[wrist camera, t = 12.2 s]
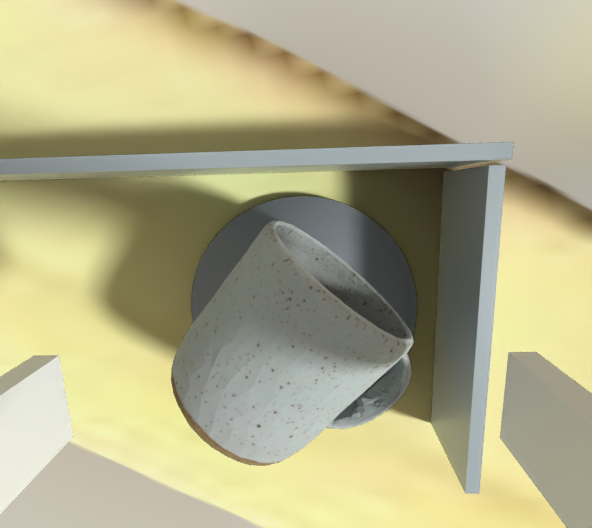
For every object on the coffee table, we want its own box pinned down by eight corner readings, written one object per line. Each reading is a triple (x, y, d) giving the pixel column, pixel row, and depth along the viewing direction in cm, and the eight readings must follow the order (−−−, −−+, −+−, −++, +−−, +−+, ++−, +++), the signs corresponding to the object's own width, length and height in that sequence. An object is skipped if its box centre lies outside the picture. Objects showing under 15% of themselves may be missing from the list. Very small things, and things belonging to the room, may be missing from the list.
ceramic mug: (190, 330, 20) (118, 415, 13) (280, 210, 19) (259, 226, 11) (342, 438, 21) (359, 576, 14) (439, 332, 20) (518, 424, 12)
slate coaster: (203, 405, 22) (199, 411, 21) (186, 199, 20) (182, 199, 19) (410, 407, 21) (413, 413, 21) (418, 192, 19) (421, 193, 18)
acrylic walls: (11, 419, 23) (-72, 481, 18) (-37, 170, 20) (-152, 163, 15) (445, 423, 21) (483, 493, 16) (461, 154, 18) (513, 141, 13)
